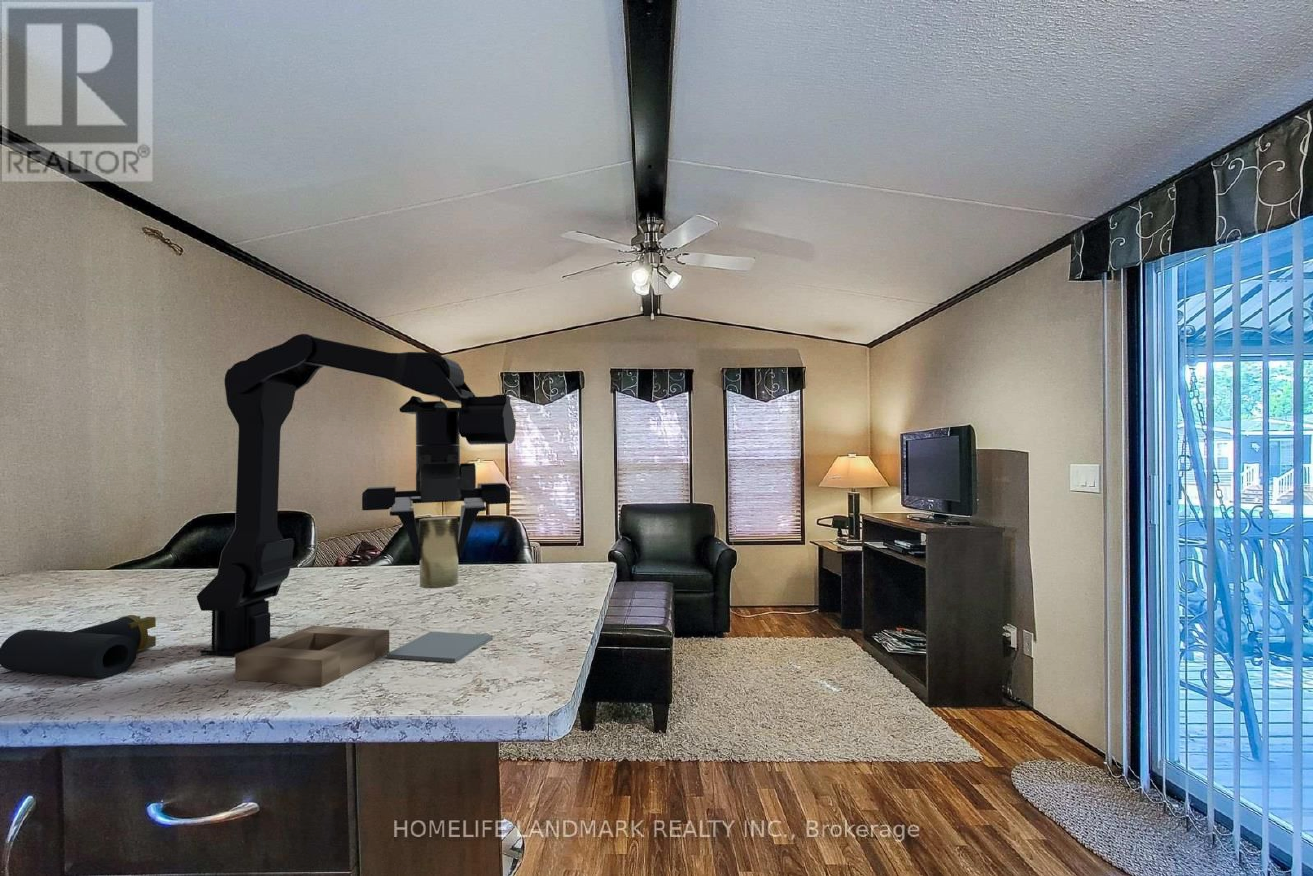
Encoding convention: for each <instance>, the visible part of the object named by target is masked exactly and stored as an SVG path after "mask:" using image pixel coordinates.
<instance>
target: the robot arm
mask: <svg viewBox="0 0 1313 876" xmlns="http://www.w3.org/2000/svg"><path fill="white" fill-rule="evenodd" d="M323 367H327V368H331V369H336V370H341V371H348V372H350V373H354V374H355V373H357V374H361V375H366V376H370V377H374V378H375V377H376V378H379V379H385V380H389V381H391V382H393V383H395V384H397V385H400V386H402V387H404V388H406V389H407V388H408V389H409V390H412V391H415V392H417V393H419V394H423V395H427V396H431V397H433V398H434V397H435V398H438V399H442V400H443V401H441V400H438V401H437V400H429V401H426V400H425V401H424V400H423V399H422V398H421V397H420V396H415V395H412V396H411V397H410V398H409V400H408V401H406V403H404V404H403V405H402V406H400V407H399V412H400V413H403V414H409V415H415V489H413V490H397V487H396V486H375V487H374V486H371V487H367V488H366V489H365V490H364V491H362V494H361V510H362V511H381V510H382V511H384V510H389V509H390V510H389V516H390V517H391V516H392V517H394V516H397V517H398V518H399V520H400V522H401V524H402V526H403V528H404V529H405V531H406V534H407V536H408V538H409V542H410V545H411V548H412V551H413V553H414V556H415V560H416V561H418V562H420V546H419V536H418V535H419V534H418V530H417V529H418V528H417V522H416V517H415V510H414V507H412V506H413V504H426V503H428V504H429V503H448V502H449V503H450V502H453V503H454V502H463V504H464V505H461V506H460V517H459V524H458V558H462V556H463V553H464V549H465V546H466V543H467V540H468V536H469V534H470V531H471V528H472V525H473V524H474V521H475V520H476V519H477V518H476V517H477V516H478V514H479V513H480V512H485V511H487V506H486V505H503V504H504V505H505V504H507V505H508V504H511V491H510V490H511V489H510V487H509V486H508V484H507V483H504V482H486V483H485V482H484V483H483V482H482V483H481V482H479V483H477V484H476V481H477V474H476V473H477V470H476V469H477V467H476V463H475V462H468V463H467V462H462V463H461V456H460V454H461V451H460V450H461V449H460V448H461V445H460V442H461V441H460V440H461V439H460V436H461V438H464V439H466V442H467V443H468V445H471V446H473V445H474V446H475V445H477V446H478V445H510V444H513V442H514V440H515V436H516V431H517V430H516V429H517V423H516V422H517V421H516V419H515V416H514V410H513V407H512V405H511V397H510V396H509V395H507V394H495V395H492V396H491V395H489V396H487V395H486V396H477V395H476V394H475V393H474V392H473V390H472V389H471V388H470V387H469V385H468V384H467V382H466V381H465V373H464V371H463V369H462V367H461V365H460V364H459V363H457V361H454V360H452V359H449V358H447V357H445V356H442V355H440V354H437V353H435V352H431V351H429V352H427V351H426V352H424V351H421V352H419V351H403V352H388V351H383V350H382V351H381V350H378V349H373V348H368V347H362V346H357V345H354V344H348V343H344V342H343V343H342V342H339V341H335V340H334V341H333V340H330V339H329V340H328V339H324V338H320V337H317V336H314V335H310V334H307V333H300V334H296V335H294V336H292V337H291V338H289V339H287V340H286V341H285V342H283V343H282V344H281V343H280V344H279V345H276V346H273V347H270V348H268V349H264V350H261V351H259V352H257V353H255V354H253V355H252V356H250V357H249V358H247V359H246V360H245V359H244V360H240V361H238V362H236V363H234V364H233V365H232V366H231V367H230V368H228V369H227V370H226V373H225V375H224V379H223V380H224V390H225V396H226V404H227V407H228V409H229V410H230V412H231V414H232V417H233V418H234V419H235V422H236V424H237V426H238V439H237V440H238V443H237V463H236V464H237V465H236V467H237V469H236V491H235V492H236V493H235V494H236V497H235V517H234V518H235V521H234V523H235V524H234V530H233V532H232V534H231V536H230V537H229V539H228V541H227V542H226V544H225V545H224V547H223V549H222V551H221V553H220V559H219V565H218V568H217V573H216V576H214V577H213V579H212V580H211V581H209V583H208V584H207V585H205V587H204V588H202V590H200V591H199V593H198V594H197V595H196V600H197V602H198V605H199V609H200V610H201V611H205V612H206V611H207V612H208V611H211V645H209V646H206V647H203V648H201V649H200V653H201V654H209V655H210V654H213V655H225V656H226V655H227V656H235V654H237V653H240V652H243V651H245V650H248V649H251V648H254V647H256V646H259V645H262V644H264V643H267V642H270V641H273V640H275V639H278V638H279V637H275V636H274V637H273V636H271V612H270V611H269V610H270V609H269V608H270V606H269V605H270V602H269V600H266V599H270V598H271V597H272V598H273V597H276V596H277V595H279V594H278V593H279V591H280V588H281V586H282V583H284V581H285V580H286V579H288V577H289V575H290V571H291V568H292V567H295V561H294V556H293V553H294V549H295V548H294V547H295V541H294V538H291V537H290V538H286V539H285V538H284V537H283V535H282V533H281V531H280V529H279V527H278V512H279V511H278V510H279V509H278V508H279V484H280V476H279V475H280V459H281V458H280V456H281V454H280V453H281V452H280V450H281V449H280V448H281V430H282V426H283V424H284V423H285V421H286V419H287V418H288V416H289V414H290V413H291V411H292V409H293V405H294V401H295V396H296V392H297V391H299V390H301V388H303V387H304V386H306V385H308V384H309V383H310V382H311V380H312V379H313V378H314V376H315V375H316V374H317V372H318V371H319V370H321V369H322V368H323ZM444 401H446V402H449V403H450V402H451V403H454V404H459V405H460V407H448V406H447V404H446V403H445V402H444ZM476 485H477V487H476ZM485 504H486V505H485Z"/></svg>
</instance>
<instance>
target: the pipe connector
mask: <svg viewBox="0 0 1313 876" xmlns="http://www.w3.org/2000/svg"><path fill="white" fill-rule="evenodd" d="M156 623H157V622H156V616H146V617H142V618H141V616H140V615H135V614H129V615H124V616H121V617H119V618H117V619H114V620H111V621H107V622H103V623H99V624H95V625H92V626H88V627H84V628H82V629H81V628H80V629H77V630H73V631H59V630H49V629H48V630H44V629H33V628H32V629H30V628H29V629H23V630H19V631H18V632H15V633H13V634H11V635H10V636H9V637H8V638H6V639H5V640H4V641H3V642H2V644H1V645H0V666H1V668H3V669H5V670H7V671H11V672H12V671H13V672H22V673H23V672H25V673H37V674H46V675H57V676H58V675H59V676H60V675H61V676H69V677H70V676H71V677H84V678H92V679H93V678H94V679H95V678H96V679H105V680H106V679H109V678H111V677H114V676H117V675H121V674H122V673H123V674H124V673H126V672H127V671H129V669H130V668H131V667H132V665H134V663H135V660H136V659H137V655H138V653H140V652H142V651H145V650H148V649H151V648H153V647H156V646H157V641H156V640H157V636H155V635H149V632H148V630H150V629H152V628H155V627H156Z"/></svg>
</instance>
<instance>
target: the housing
mask: <svg viewBox="0 0 1313 876" xmlns="http://www.w3.org/2000/svg"><path fill="white" fill-rule="evenodd" d="M277 638H278V639H275V640H273V641H270V642H267V643H264V644H262V645H259V646H256V647H254V648H251V649H248V650H245V651H243V652H240V653H237V654H235V655H234V656H235V657H234V659H235V660H234V669H235V670H234V680H236V681H249V682H250V681H251V682H262V683H272V684H273V683H274V684H285V685H295V686H296V685H298V686H309V687H310V686H311V687H324V686H325V685H328V684H330V683H331V682H333V681H335V680H338V679H340V678H342V677H343V676H346V675H347V674H350V673H352V672H353V671H355V670H357V669H360V668H362V667H363V666H365V665H367V664H369V663H371V662H373V661H375V660H378V659H380V658H381V657H383V656H386V654H387V653H389V652H390V629H382V628H381V629H380V628H379V629H377V628H362V627H343V626H329V625H328V626H325V625H323V626H322V625H311V626H308V627H305V628H303V629H301V630H297V631H295V632H293V633H289V634H286V635H283V636H281V637H277Z"/></svg>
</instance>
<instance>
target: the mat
mask: <svg viewBox="0 0 1313 876" xmlns="http://www.w3.org/2000/svg"><path fill="white" fill-rule="evenodd" d="M493 637H494V635H493V634H480V633H479V634H478V633H462V632H445V631H443V632H442V631H428V632H427V633H425V634H423V635H421V636H419V637H417V638H415V639H413V640H411V641H409V642H407V643H405V644H402V646H399V647H397V648H396V649H393V650H391V651H389V653H387V654H385V658H387V659H395V660H396V659H399V660H411V661H412V660H414V661H425V662H426V661H429V662H445V663H457V662H459V661H460V660H461V659H463V658H465V657H466V656H468V655H469V654H471V653H473V652H474V651H475V650H478V649H479V648H481V647H482V646H484V645H486V643H488V642H489V641H492V640H493Z"/></svg>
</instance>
